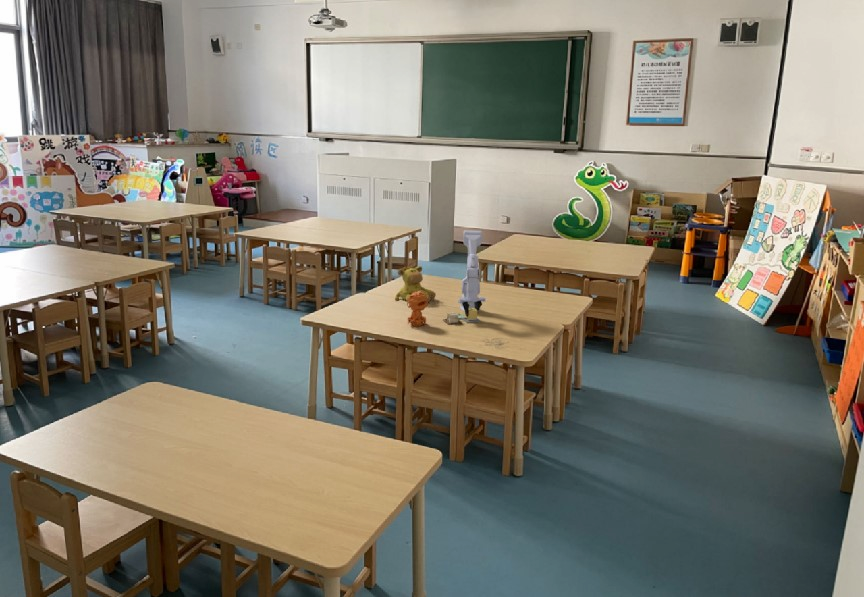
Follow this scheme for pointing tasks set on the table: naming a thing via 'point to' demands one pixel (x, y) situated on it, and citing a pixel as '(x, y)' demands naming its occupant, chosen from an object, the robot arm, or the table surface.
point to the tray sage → (460, 316)
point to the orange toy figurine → (417, 308)
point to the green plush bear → (413, 283)
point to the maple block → (452, 317)
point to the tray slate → (470, 320)
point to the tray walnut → (452, 323)
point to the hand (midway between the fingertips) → (471, 315)
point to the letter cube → (472, 313)
